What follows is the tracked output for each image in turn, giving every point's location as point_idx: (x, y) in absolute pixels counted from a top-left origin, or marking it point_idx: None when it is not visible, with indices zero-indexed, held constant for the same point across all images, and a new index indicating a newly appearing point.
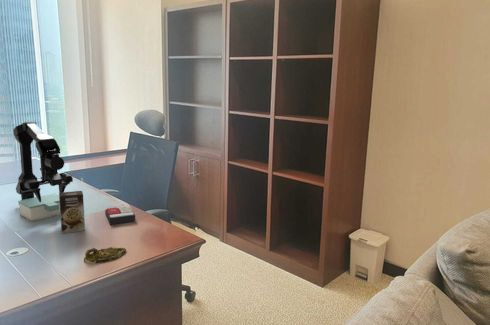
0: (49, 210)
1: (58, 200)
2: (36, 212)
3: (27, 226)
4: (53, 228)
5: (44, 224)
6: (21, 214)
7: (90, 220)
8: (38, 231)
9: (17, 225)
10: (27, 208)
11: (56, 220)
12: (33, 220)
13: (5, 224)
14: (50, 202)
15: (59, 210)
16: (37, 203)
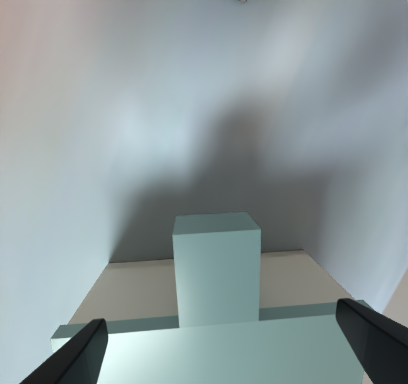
0: (248, 217)
1: (129, 338)
2: (294, 279)
3: (349, 192)
4: (275, 51)
5: (279, 159)
6: None
7: (28, 9)
8: (353, 69)
9: (370, 238)
10: None
11: (204, 177)
12: (293, 251)
13: (393, 285)
14: (205, 325)
15: (147, 275)
16: (291, 357)
